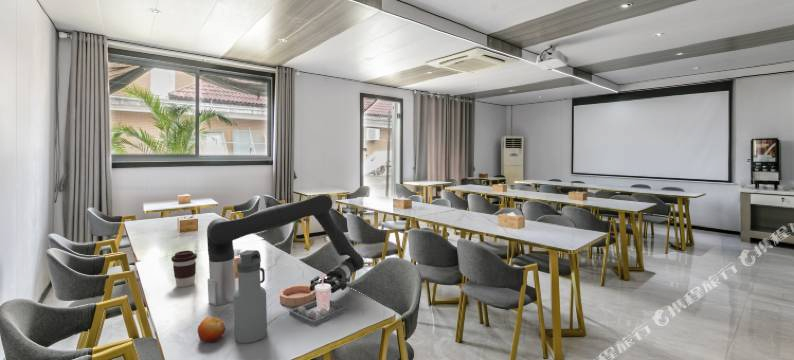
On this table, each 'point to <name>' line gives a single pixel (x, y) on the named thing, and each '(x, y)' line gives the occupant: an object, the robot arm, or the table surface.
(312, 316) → the pebble
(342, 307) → the tray
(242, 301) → the water bottle
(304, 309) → the pebble
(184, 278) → the coffee cup
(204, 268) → the table surface
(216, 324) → the fruit
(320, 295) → the beverage cup
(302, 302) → the bowl
